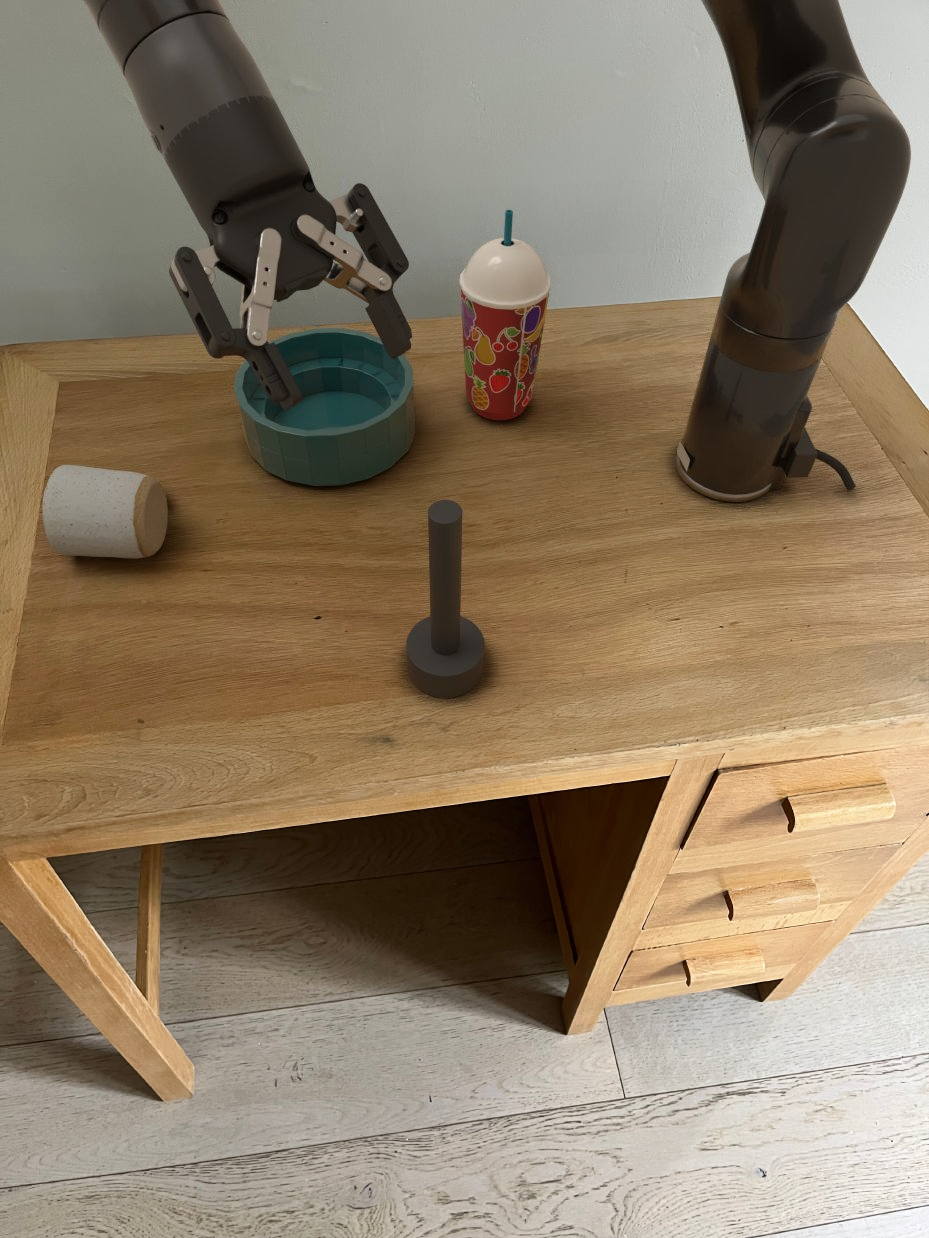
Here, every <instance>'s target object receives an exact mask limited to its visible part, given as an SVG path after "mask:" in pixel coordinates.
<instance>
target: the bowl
mask: <svg viewBox="0 0 929 1238" xmlns="http://www.w3.org/2000/svg"><path fill="white" fill-rule="evenodd" d="M273 342H274V343H275V345H276V347H277V348H278V350H279V352H280V354H281V356H282V358H283V360H284V361H285V363H286V365H287V367H288V369H289V371H290V372H291V374H292V376H293V378H294V380H295V382H296V384H297V385H298V387H299V389H300V391H301V393H302V396H303V400H302V401H301V402H300V403H299V404H297V405H296V406H294V407H292V408H290V409H288V410H285V409H284V408H283V407H282V405H281V404H280V402H279V403H277V404H274V403H273V402H272V401H271V400H269V399H268V397H267V395H266V393H265V392H264V389H263V388H262V386H261V384H260V382H259V381H258V379H257V377H256V375H255V373H254V372H253V370H252V368H251V366H250V364H249V363H248V361H247V360H246V359H245V360H244V361H243V363H242V364H241V365H240V366H239V368H238V370H236V373H235V379H234V384H233V393H234V397H235V402H236V405H237V411H238V415H239V418H240V423H241V427H242V432H243V436H244V440H245V443H246V446H247V449H248V451H249V455H250V456H251V457H252V458H253V459H254V460H255V461H256V462H257V463H258V464H259V465H260V466H261V468H263V469H264V470H265V471H266V472H268V473H270V474H272V475H274V476H276V477H278V478H281V479H282V480H285V481H287V482H292V483H297V484H303V485H306V486H307V485H308V486H311V487H312V486H314V487H328V486H329V487H330V486H344V485H348V484H352V483H356V482H360V481H365V480H369V479H371V478H373V477H375V476H377V475H379V474H381V473H383V472H384V471H387V470H388V469H391V468H392V467H393V466H394V465H395V464H396V463H397V462H398V461H399V460H400V459H401V458H402V457H404V455H405V454H406V453H407V452H409V449H410V447H411V445H412V442H413V441H414V438H415V436H416V415H415V413H416V412H415V386H414V383H415V382H414V368H413V366H412V365H411V363H410V361H409V359H408V358H407V356H406V353H404V354H403V355H401V356H399V357H396V358H394V359H392V358H391V357H390V356H389V355H388V353H387V351H386V349H385V347H384V345H383V343H382V341H381V339H380V337H379V336H377V335H375V334H372V333H369V332H367V331H363V330H357V329H351V328H345V327H324V328H323V327H322V328H319V327H318V328H311V329H305V330H301V331H296V332H291V333H287V334H284V335H283V336H279V337H278V338H275V339H272V340H270V341H268V343H269V344H271V343H273Z"/></svg>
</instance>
